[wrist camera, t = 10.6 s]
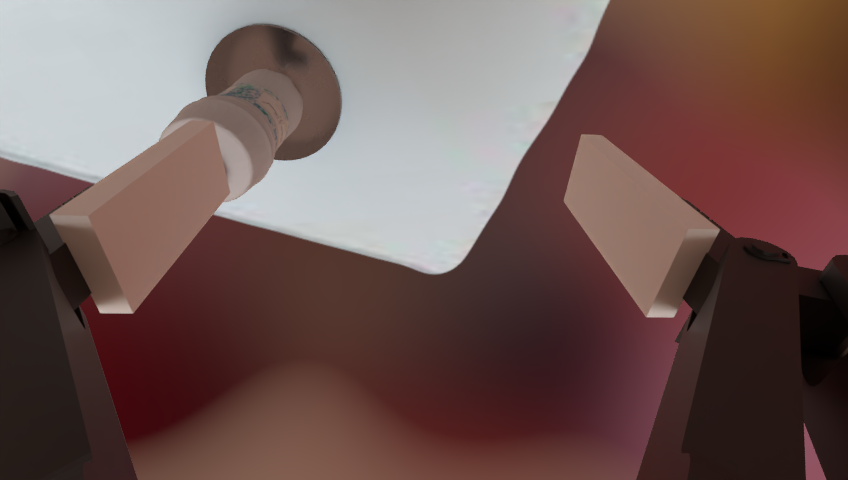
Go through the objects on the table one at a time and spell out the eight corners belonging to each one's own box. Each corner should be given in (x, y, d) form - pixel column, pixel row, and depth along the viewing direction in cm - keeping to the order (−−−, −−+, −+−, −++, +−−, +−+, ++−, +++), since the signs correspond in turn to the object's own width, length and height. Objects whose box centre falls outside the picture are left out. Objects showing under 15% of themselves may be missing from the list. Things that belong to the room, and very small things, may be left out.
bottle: (315, 129, 42) (256, 229, 25) (252, 134, 42) (150, 238, 25) (300, 59, 38) (218, 123, 22) (230, 65, 38) (94, 134, 22)
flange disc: (193, 21, 37) (189, 22, 36) (336, 27, 38) (335, 28, 37) (225, 156, 44) (222, 159, 43) (345, 158, 45) (344, 161, 44)
